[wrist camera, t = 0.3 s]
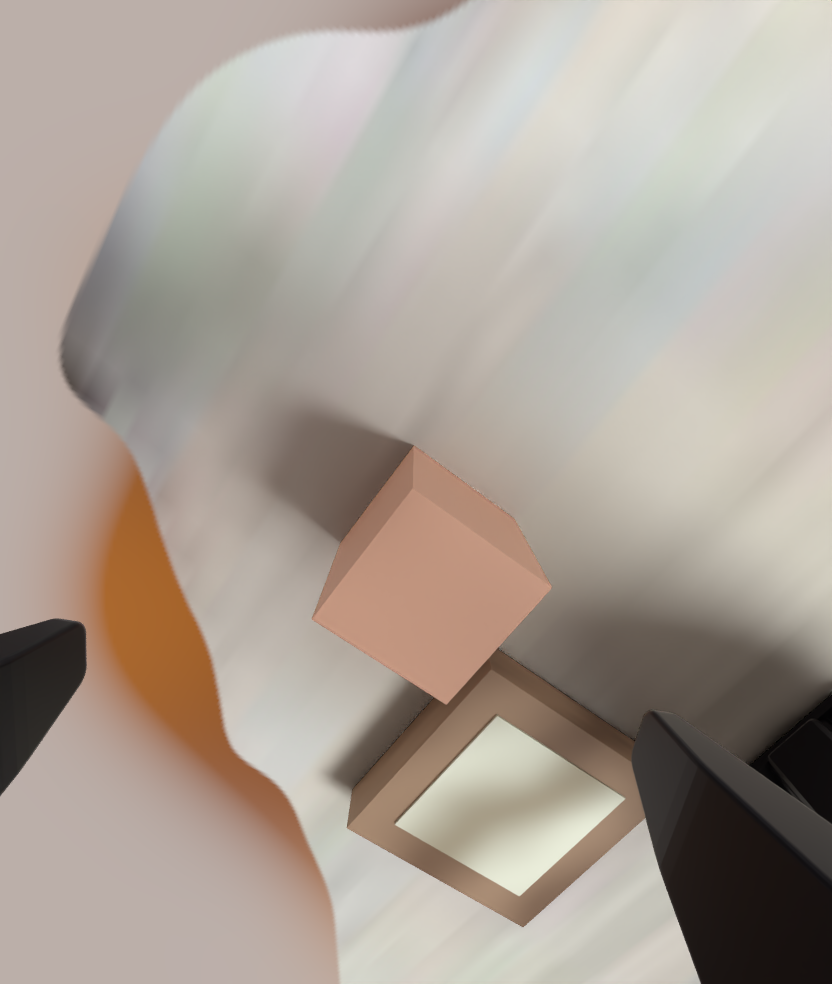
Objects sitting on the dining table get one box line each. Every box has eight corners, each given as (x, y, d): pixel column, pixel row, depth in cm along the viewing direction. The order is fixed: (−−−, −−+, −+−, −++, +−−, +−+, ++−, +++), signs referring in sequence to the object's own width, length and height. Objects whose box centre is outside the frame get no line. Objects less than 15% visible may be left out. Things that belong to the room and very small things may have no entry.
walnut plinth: (654, 754, 24) (676, 793, 22) (515, 884, 26) (523, 929, 24) (484, 640, 22) (492, 670, 20) (352, 789, 24) (346, 830, 22)
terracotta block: (514, 518, 21) (552, 587, 15) (438, 608, 22) (446, 704, 16) (414, 445, 20) (413, 488, 14) (340, 542, 21) (311, 619, 15)
